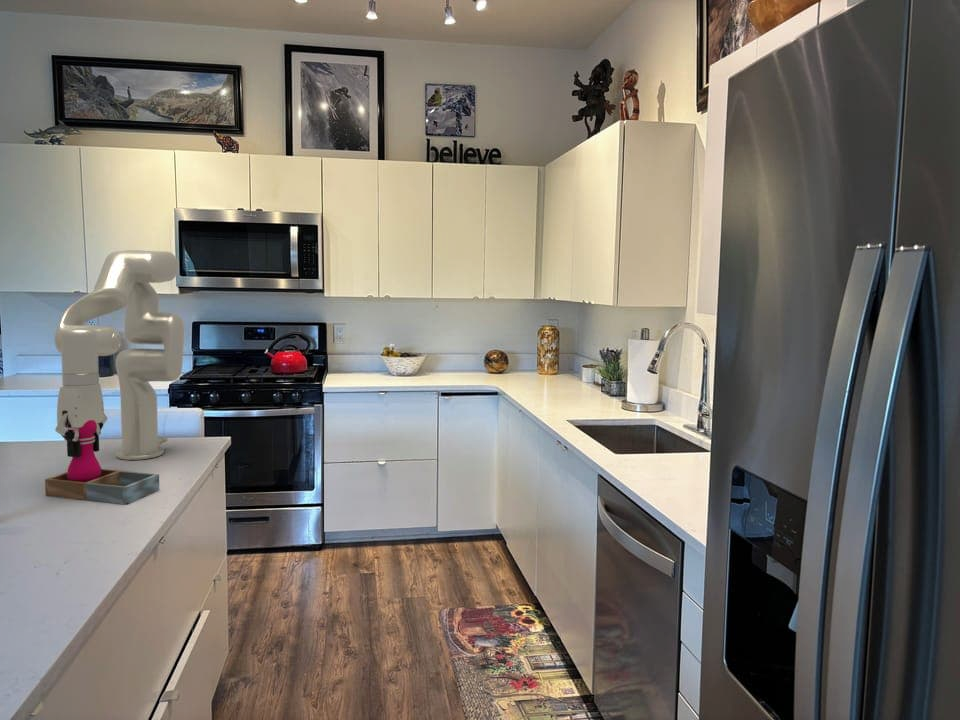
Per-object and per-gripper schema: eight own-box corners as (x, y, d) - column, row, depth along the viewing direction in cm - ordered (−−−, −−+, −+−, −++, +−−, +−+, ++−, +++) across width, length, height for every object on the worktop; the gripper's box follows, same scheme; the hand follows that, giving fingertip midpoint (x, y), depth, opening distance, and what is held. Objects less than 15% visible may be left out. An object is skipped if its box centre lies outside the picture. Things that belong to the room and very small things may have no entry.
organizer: (83, 482, 169) (82, 467, 169) (159, 490, 165) (159, 474, 164) (45, 495, 158) (44, 479, 158) (126, 504, 154) (125, 487, 153)
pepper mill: (86, 496, 158) (83, 414, 156) (60, 493, 160) (56, 412, 157) (108, 487, 165) (106, 408, 163) (83, 485, 167) (80, 406, 164)
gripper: (94, 374, 169) (97, 444, 171) (37, 383, 152) (40, 461, 154) (120, 376, 167) (122, 447, 169) (65, 385, 150) (68, 464, 152)
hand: (83, 453), depth 161 cm, fingers closed on pepper mill, 5 cm apart
